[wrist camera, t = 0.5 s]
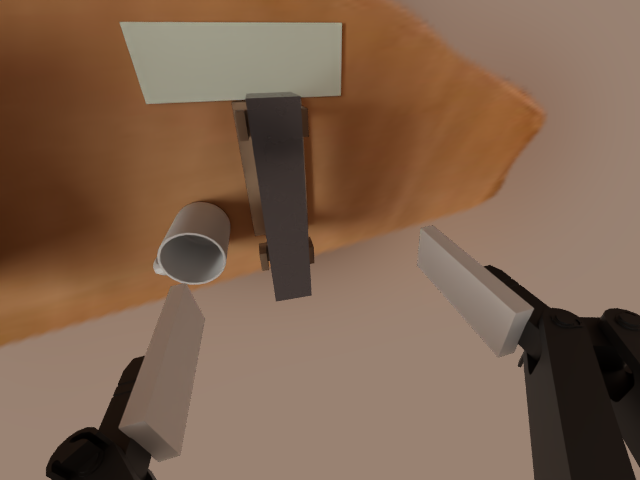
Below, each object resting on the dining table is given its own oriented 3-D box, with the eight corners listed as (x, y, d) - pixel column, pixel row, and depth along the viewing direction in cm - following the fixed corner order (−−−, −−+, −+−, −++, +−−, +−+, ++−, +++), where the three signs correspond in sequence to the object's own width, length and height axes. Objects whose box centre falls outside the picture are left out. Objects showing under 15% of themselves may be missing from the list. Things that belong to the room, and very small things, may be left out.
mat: (147, 103, 30) (146, 104, 29) (120, 22, 26) (119, 21, 26) (339, 95, 33) (340, 95, 33) (340, 23, 30) (341, 22, 29)
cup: (241, 230, 40) (238, 266, 32) (184, 261, 41) (168, 303, 33) (209, 191, 36) (198, 221, 28) (147, 226, 37) (120, 264, 29)
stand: (255, 232, 40) (255, 272, 32) (232, 101, 31) (224, 111, 23) (307, 226, 42) (320, 262, 34) (300, 98, 32) (316, 107, 24)
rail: (272, 268, 35) (276, 301, 30) (246, 93, 24) (245, 98, 19) (303, 264, 35) (311, 295, 30) (290, 91, 25) (300, 96, 20)
